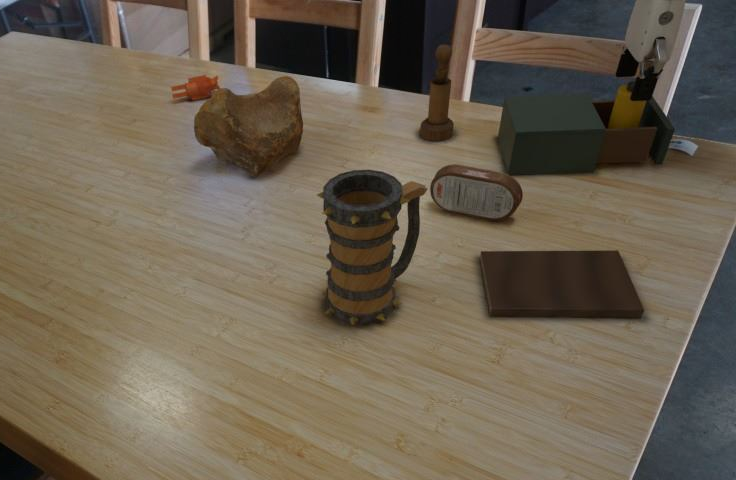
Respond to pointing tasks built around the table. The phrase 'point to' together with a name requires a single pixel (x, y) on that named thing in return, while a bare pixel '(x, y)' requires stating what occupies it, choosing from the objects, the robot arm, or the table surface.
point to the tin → (476, 192)
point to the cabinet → (550, 134)
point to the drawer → (635, 135)
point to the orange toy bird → (197, 87)
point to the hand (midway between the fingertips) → (632, 87)
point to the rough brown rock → (252, 125)
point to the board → (559, 284)
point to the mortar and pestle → (439, 101)
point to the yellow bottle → (626, 109)
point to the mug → (366, 242)
